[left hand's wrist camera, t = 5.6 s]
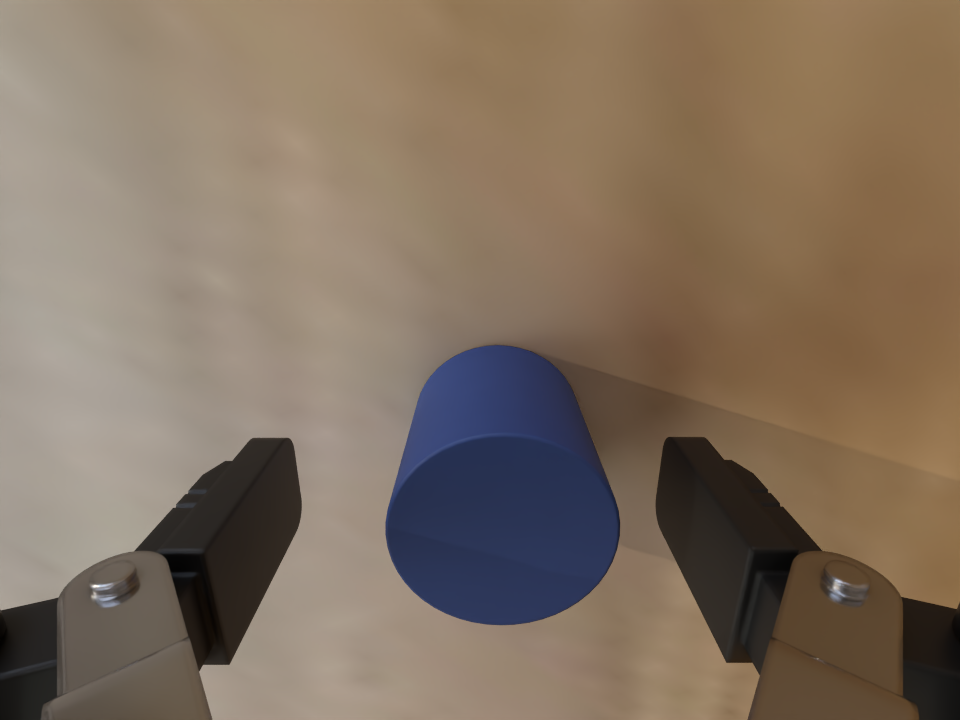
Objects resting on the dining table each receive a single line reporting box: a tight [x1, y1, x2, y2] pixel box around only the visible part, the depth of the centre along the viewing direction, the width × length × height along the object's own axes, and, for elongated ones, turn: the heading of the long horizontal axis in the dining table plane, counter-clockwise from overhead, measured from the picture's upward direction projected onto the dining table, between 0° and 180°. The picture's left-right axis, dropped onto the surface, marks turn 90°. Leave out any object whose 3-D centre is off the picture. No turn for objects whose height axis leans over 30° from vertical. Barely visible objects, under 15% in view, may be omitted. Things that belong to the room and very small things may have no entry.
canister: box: [386, 345, 620, 625], centre depth 11 cm, size 4×4×4 cm
